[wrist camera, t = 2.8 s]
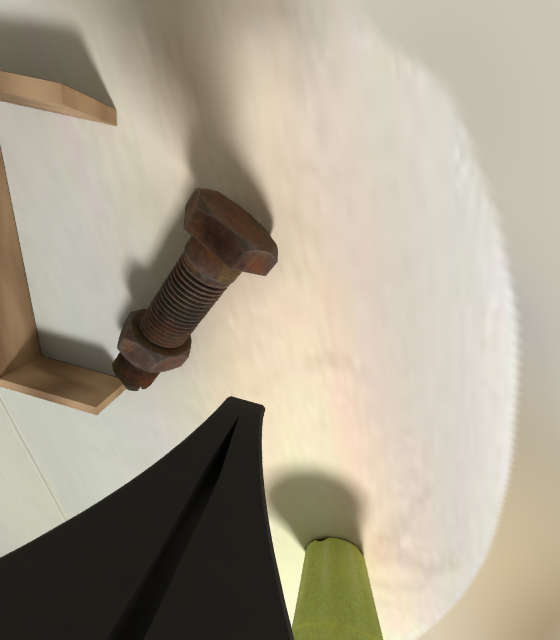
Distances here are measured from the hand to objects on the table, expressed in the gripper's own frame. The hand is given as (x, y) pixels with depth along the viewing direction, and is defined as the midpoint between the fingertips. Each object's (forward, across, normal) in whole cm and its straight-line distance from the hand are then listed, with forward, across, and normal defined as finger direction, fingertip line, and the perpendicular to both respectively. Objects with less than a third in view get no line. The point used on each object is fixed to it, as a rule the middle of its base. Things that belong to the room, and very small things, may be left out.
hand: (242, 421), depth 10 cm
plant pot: (+10, -11, +25) cm, 29 cm away
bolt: (+10, +7, 0) cm, 13 cm away
